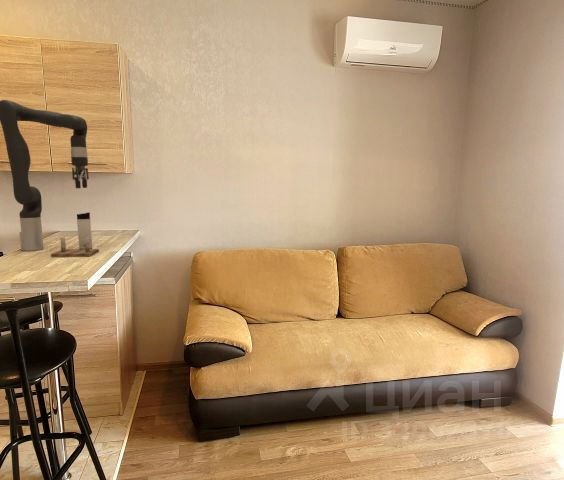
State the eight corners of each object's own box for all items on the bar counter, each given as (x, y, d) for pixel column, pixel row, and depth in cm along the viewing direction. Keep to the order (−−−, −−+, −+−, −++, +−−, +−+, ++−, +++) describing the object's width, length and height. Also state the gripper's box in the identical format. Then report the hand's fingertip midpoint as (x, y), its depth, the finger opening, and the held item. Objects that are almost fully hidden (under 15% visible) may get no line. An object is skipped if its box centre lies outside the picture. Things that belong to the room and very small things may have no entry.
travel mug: (87, 250, 197) (84, 213, 194) (76, 250, 199) (73, 212, 195) (95, 248, 203) (93, 212, 200) (84, 248, 205) (82, 211, 201)
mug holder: (51, 257, 181) (49, 239, 180) (62, 252, 193) (61, 235, 192) (90, 256, 183) (88, 239, 182) (99, 251, 195) (97, 235, 194)
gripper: (77, 157, 199) (79, 187, 202) (65, 155, 185) (68, 188, 188) (92, 157, 200) (94, 187, 203) (81, 155, 186) (83, 188, 189)
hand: (81, 188), depth 196 cm, fingers open, 8 cm apart
